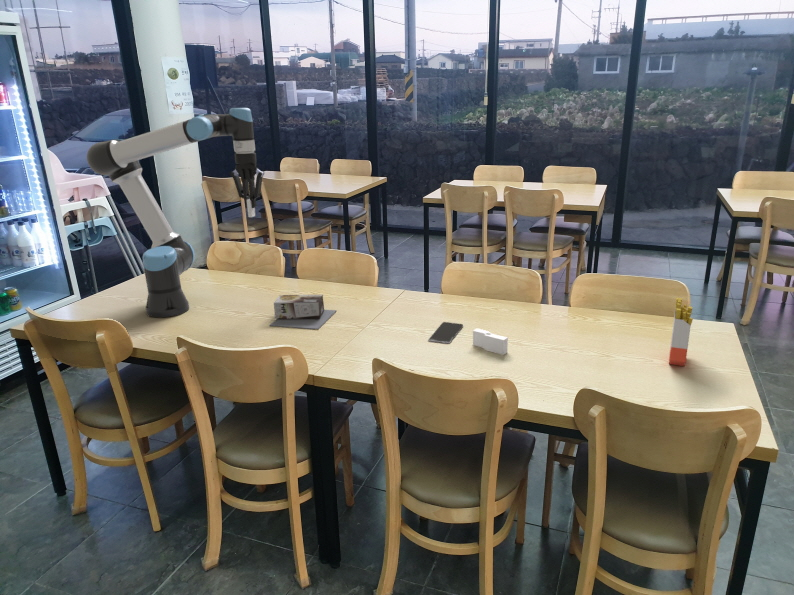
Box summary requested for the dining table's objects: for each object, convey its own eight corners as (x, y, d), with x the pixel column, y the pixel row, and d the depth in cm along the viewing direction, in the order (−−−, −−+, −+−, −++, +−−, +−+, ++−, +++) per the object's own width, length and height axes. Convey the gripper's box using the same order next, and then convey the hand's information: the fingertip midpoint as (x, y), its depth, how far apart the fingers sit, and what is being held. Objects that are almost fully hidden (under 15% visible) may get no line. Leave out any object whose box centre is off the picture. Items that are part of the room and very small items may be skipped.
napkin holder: (516, 356, 183) (517, 339, 181) (480, 361, 181) (481, 343, 179) (497, 338, 197) (498, 321, 195) (464, 342, 194) (464, 325, 193)
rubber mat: (269, 326, 211) (269, 324, 211) (291, 308, 227) (291, 307, 227) (318, 329, 206) (318, 328, 206) (336, 311, 223) (336, 310, 223)
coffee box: (274, 319, 215) (320, 319, 214) (273, 302, 213) (318, 302, 212) (281, 311, 224) (324, 311, 223) (279, 294, 222) (323, 294, 221)
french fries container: (686, 355, 179) (694, 297, 173) (686, 370, 170) (694, 309, 164) (669, 352, 181) (676, 295, 175) (668, 367, 172) (675, 307, 166)
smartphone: (427, 339, 194) (442, 321, 208) (427, 343, 195) (442, 324, 209) (449, 342, 192) (463, 323, 206) (449, 345, 192) (463, 326, 206)
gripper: (223, 153, 220) (231, 218, 227) (256, 153, 216) (263, 219, 224) (234, 151, 227) (241, 214, 234) (266, 151, 223) (272, 214, 231)
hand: (251, 216), depth 229 cm, fingers closed
